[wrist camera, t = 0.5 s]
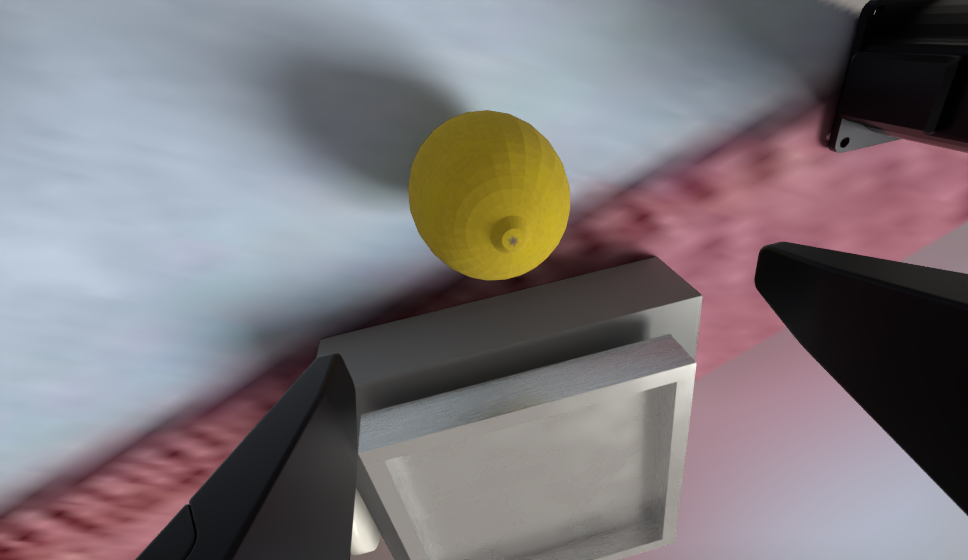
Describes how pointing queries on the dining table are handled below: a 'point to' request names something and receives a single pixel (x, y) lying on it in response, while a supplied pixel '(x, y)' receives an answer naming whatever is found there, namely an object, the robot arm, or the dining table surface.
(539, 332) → the scale
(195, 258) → the dining table surface
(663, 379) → the pan
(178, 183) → the dining table surface
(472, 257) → the lemon
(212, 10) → the dining table surface
